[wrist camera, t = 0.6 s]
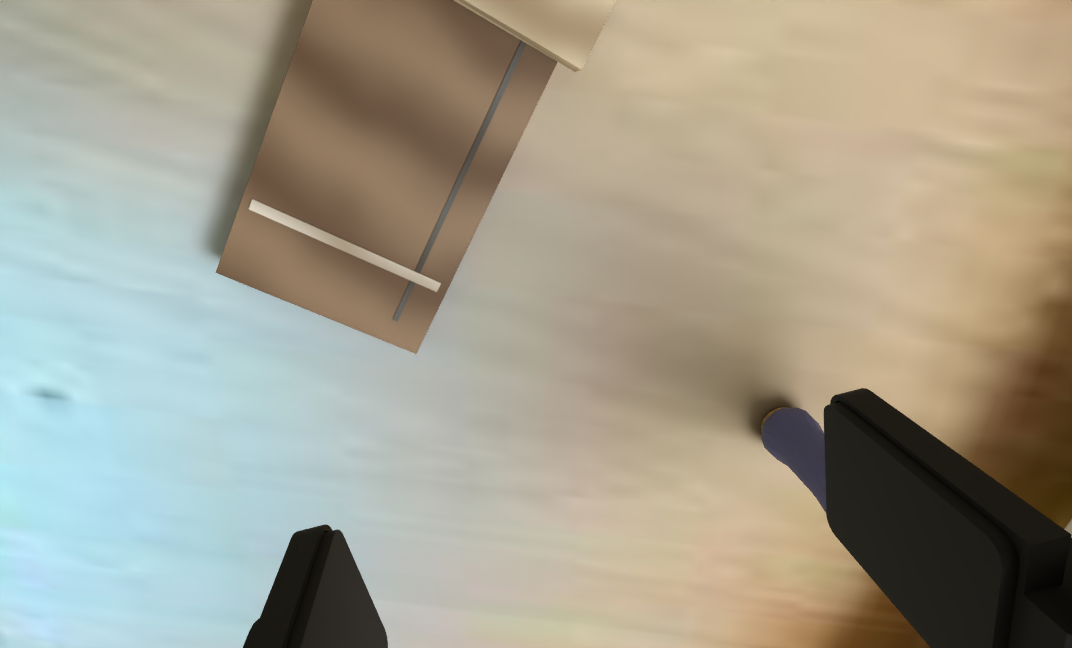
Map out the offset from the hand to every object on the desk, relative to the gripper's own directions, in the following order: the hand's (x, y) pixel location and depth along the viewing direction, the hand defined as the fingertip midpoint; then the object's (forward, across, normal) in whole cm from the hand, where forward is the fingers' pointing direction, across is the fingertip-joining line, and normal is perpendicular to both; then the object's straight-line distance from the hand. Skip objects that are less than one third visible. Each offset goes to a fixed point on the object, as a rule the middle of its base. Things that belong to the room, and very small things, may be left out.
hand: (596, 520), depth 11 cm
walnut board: (+26, +4, -8) cm, 28 cm away
